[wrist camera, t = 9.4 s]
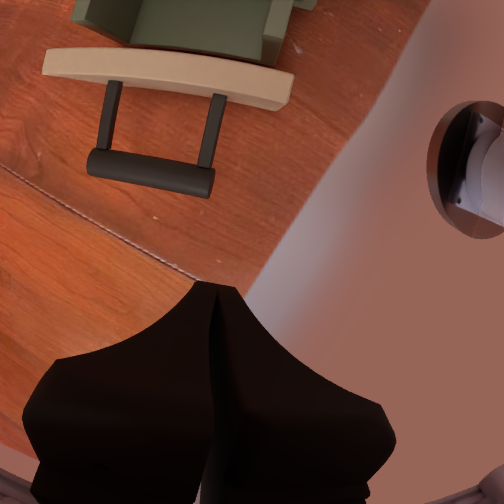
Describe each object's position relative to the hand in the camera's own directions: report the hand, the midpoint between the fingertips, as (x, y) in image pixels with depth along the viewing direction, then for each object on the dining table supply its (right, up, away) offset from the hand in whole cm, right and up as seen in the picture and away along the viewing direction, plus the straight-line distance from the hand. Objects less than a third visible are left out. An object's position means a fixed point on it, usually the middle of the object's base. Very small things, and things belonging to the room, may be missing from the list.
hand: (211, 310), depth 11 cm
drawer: (-1, +14, +5) cm, 15 cm away
